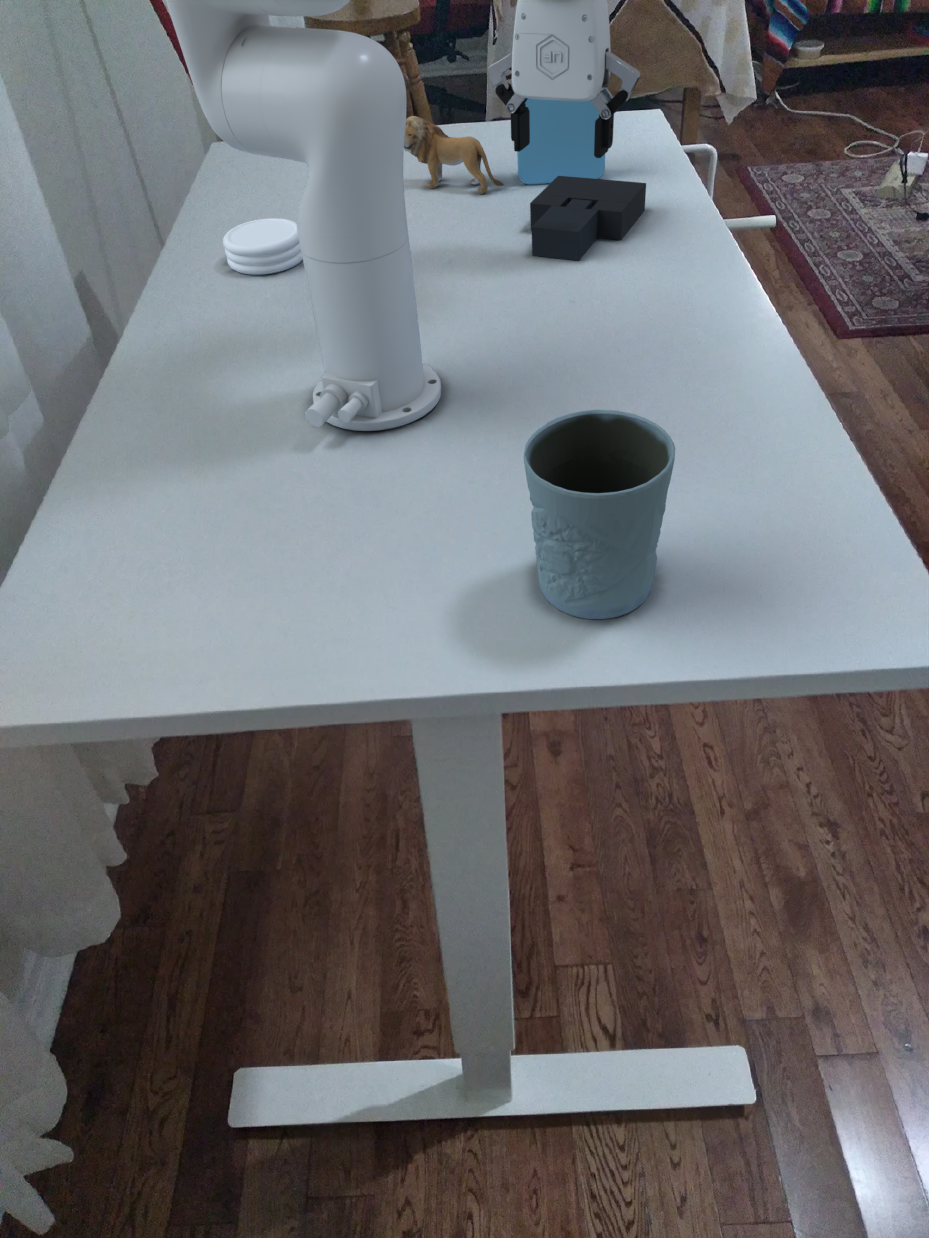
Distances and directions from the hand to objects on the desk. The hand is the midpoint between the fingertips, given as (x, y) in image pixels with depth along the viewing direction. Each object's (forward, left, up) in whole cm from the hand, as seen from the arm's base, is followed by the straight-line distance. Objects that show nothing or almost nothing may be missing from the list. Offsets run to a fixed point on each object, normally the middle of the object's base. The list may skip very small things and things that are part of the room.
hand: (561, 151), depth 111 cm
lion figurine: (+16, +23, -12) cm, 30 cm away
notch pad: (+10, 0, -11) cm, 15 cm away
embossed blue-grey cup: (-57, -24, -12) cm, 63 cm away
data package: (+24, +9, -12) cm, 28 cm away
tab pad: (+2, 0, -11) cm, 12 cm away
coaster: (-12, +35, -12) cm, 39 cm away
